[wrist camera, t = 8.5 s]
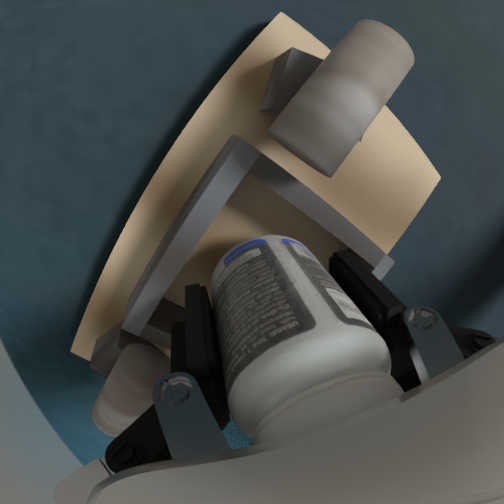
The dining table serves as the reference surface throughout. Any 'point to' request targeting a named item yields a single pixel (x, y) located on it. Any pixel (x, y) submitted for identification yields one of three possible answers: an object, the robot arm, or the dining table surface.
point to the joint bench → (258, 192)
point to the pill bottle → (292, 342)
